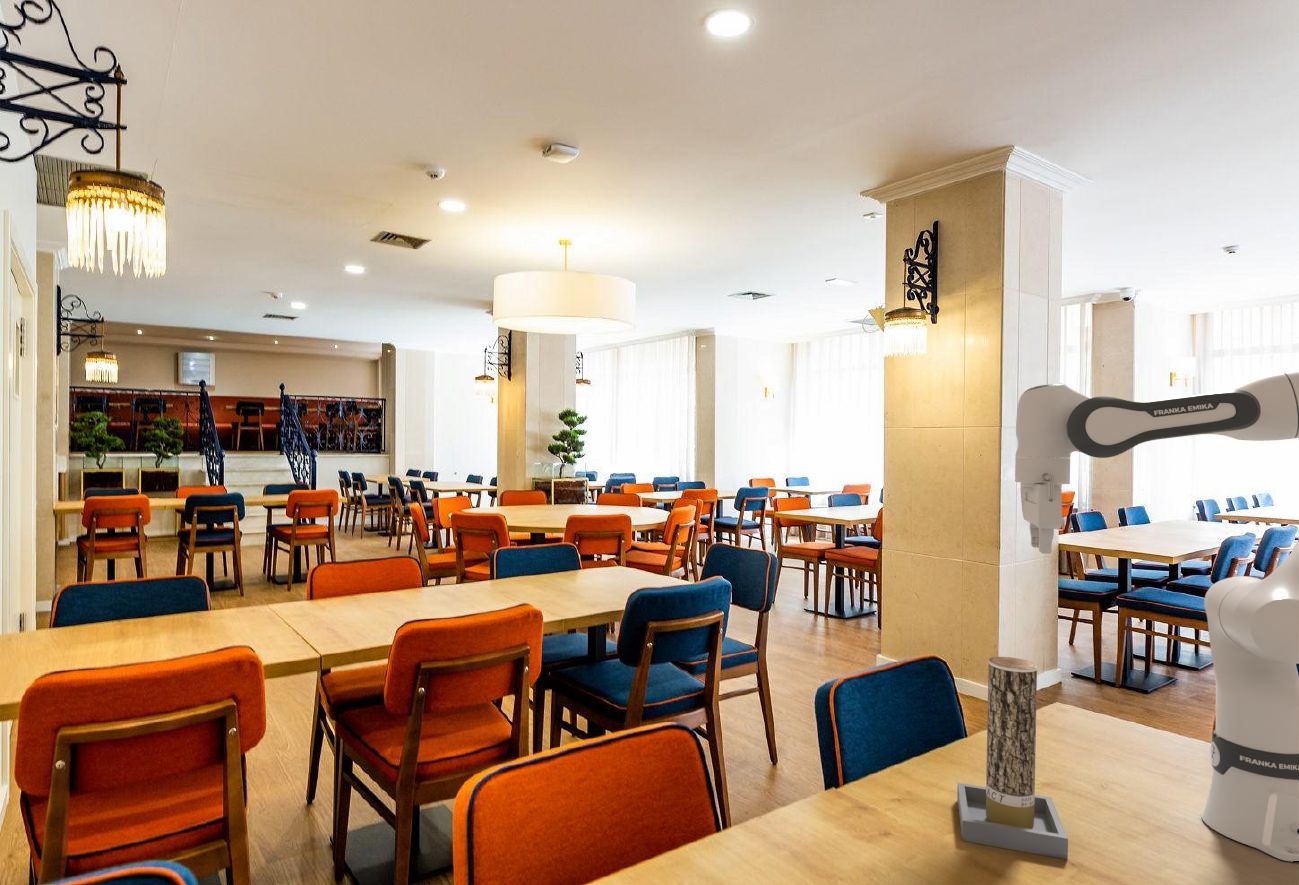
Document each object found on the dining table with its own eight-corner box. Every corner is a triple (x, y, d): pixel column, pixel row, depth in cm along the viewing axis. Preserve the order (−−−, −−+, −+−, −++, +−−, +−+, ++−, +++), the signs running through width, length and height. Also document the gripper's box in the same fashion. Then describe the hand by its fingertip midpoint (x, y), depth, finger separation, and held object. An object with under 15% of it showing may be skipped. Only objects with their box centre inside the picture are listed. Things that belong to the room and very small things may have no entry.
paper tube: (1023, 815, 120) (1026, 657, 120) (1041, 836, 113) (1044, 670, 113) (979, 812, 120) (982, 655, 121) (994, 833, 114) (998, 667, 114)
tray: (1050, 816, 121) (1051, 797, 121) (1067, 859, 108) (1067, 838, 108) (957, 800, 126) (957, 782, 126) (962, 840, 112) (962, 820, 113)
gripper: (1073, 475, 125) (1071, 558, 125) (1052, 473, 144) (1050, 545, 144) (1031, 474, 127) (1029, 555, 127) (1015, 472, 146) (1014, 543, 146)
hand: (1040, 550), depth 136 cm, fingers open, 8 cm apart
